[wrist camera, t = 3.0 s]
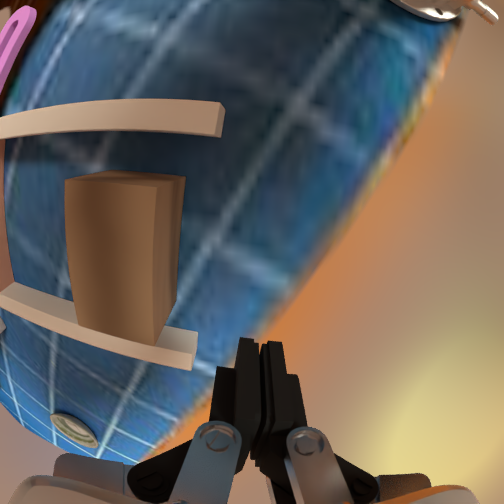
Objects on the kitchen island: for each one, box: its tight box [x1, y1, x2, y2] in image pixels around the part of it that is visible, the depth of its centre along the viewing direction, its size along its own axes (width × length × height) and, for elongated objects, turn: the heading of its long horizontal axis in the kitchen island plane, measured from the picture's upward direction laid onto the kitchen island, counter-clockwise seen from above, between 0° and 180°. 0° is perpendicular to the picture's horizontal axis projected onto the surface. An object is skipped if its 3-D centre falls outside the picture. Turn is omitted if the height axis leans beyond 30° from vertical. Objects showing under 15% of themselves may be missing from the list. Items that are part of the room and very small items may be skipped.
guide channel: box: [0, 99, 226, 371], centre depth 17 cm, size 26×20×5 cm
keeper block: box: [65, 170, 186, 347], centre depth 17 cm, size 6×10×6 cm, turn 171°
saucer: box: [50, 413, 98, 448], centre depth 31 cm, size 10×10×2 cm
